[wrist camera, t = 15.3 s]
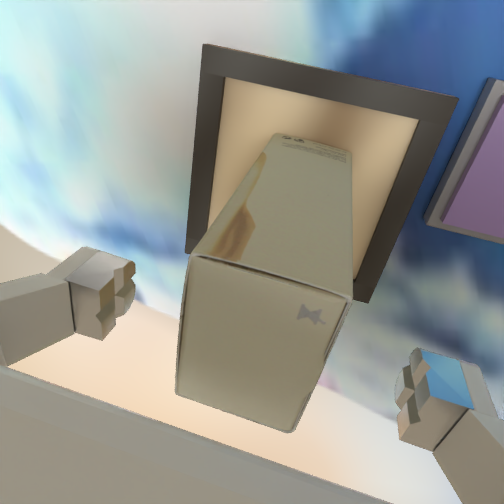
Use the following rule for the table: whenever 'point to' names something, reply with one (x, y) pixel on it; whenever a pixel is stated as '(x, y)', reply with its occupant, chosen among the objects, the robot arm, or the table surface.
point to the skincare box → (270, 286)
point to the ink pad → (475, 174)
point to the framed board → (317, 130)
